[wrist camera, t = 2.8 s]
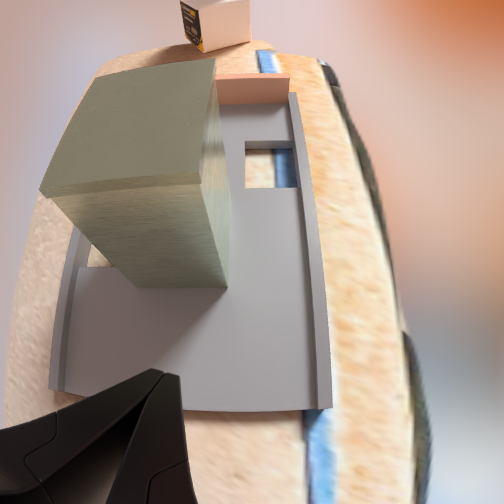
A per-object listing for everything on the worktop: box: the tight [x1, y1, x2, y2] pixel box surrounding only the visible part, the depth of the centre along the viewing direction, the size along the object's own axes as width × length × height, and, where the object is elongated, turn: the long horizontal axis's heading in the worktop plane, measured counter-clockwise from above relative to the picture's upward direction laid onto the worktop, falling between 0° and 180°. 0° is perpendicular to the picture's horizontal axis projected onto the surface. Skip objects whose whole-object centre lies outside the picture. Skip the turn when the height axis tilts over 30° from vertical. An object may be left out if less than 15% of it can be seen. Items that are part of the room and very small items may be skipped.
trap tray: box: [49, 73, 333, 412], centre depth 21 cm, size 26×18×4 cm
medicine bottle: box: [180, 0, 251, 53], centre depth 30 cm, size 7×7×12 cm
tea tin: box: [39, 58, 230, 288], centre depth 16 cm, size 7×6×11 cm
